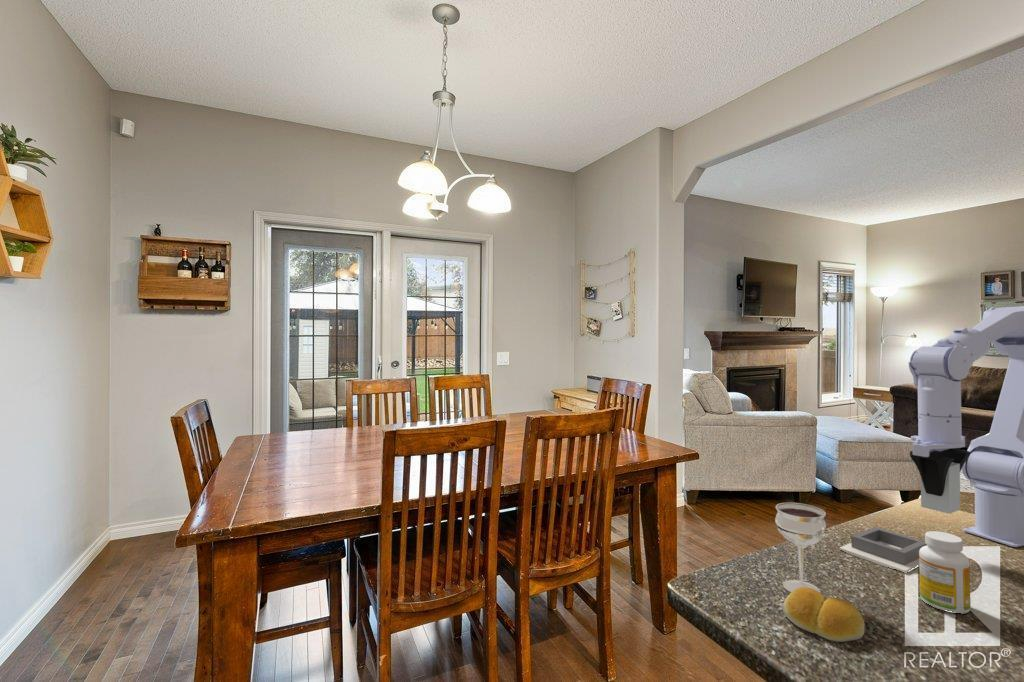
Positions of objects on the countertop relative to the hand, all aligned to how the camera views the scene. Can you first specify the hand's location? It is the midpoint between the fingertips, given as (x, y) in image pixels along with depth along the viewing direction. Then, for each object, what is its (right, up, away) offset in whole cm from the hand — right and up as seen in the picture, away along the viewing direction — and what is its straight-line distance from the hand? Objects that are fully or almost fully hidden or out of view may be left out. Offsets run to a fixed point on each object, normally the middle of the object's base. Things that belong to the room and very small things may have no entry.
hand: (940, 492), depth 85 cm
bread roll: (-33, -12, -20) cm, 41 cm away
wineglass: (-31, -12, -11) cm, 35 cm away
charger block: (0, -3, 0) cm, 3 cm away
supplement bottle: (-14, -11, -16) cm, 24 cm away
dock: (-9, -11, 0) cm, 14 cm away
